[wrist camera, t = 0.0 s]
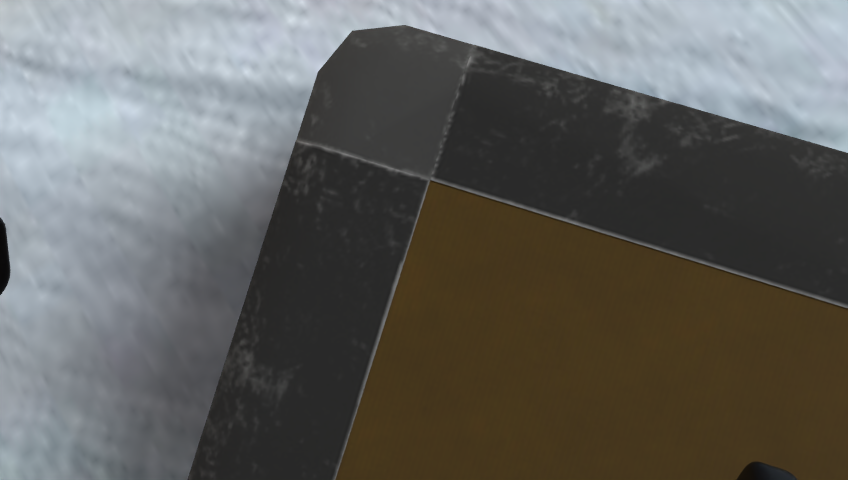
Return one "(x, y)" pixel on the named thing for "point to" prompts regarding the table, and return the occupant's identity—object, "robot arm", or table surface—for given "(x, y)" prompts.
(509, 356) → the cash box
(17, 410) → the table surface
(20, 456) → the table surface
